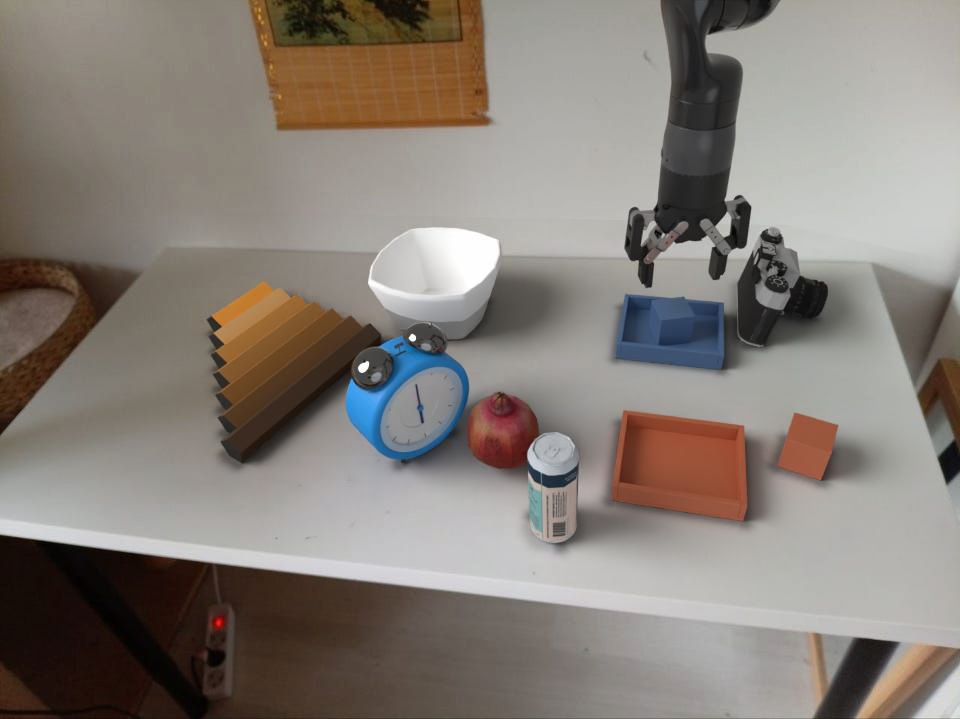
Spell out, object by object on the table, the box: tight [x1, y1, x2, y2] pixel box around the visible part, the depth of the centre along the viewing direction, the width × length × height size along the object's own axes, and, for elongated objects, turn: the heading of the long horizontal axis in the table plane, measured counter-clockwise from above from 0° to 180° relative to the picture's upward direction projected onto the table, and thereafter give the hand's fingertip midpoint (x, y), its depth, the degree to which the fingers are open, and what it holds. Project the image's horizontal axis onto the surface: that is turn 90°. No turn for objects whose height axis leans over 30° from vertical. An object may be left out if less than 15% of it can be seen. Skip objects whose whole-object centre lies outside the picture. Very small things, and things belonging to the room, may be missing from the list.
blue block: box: [649, 296, 695, 346], centre depth 90 cm, size 4×4×4 cm
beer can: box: [527, 431, 580, 544], centre depth 66 cm, size 5×5×12 cm
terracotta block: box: [777, 412, 839, 481], centre depth 73 cm, size 4×4×4 cm
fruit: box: [465, 391, 541, 470], centre depth 74 cm, size 8×8×10 cm
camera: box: [736, 226, 829, 348], centre depth 90 cm, size 15×11×10 cm
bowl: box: [367, 226, 503, 340], centre depth 96 cm, size 18×18×9 cm
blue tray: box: [615, 293, 725, 371], centre depth 91 cm, size 13×11×2 cm
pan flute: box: [206, 280, 382, 464], centre depth 92 cm, size 25×3×25 cm
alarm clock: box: [345, 322, 470, 464], centre depth 76 cm, size 13×6×15 cm, turn 129°
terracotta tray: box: [611, 409, 749, 522], centre depth 74 cm, size 13×11×2 cm
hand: (680, 280), depth 86 cm, fingers open, 8 cm apart
